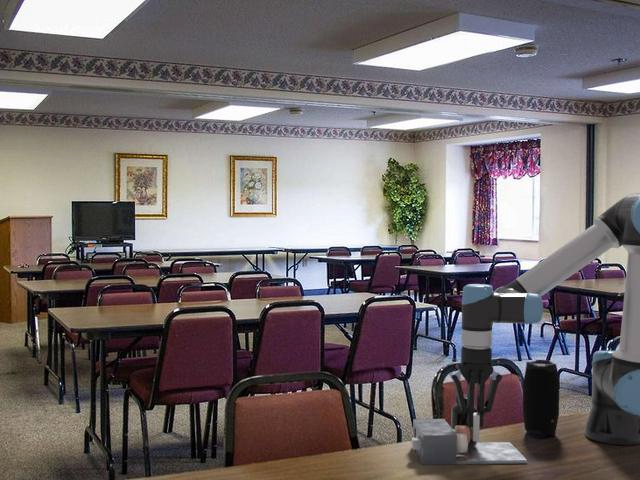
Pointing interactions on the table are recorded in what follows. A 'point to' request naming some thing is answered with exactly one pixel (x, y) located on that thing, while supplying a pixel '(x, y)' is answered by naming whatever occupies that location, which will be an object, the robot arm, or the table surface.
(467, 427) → the knob terracotta
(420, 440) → the knob cream
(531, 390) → the portable speaker
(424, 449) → the mount
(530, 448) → the table surface
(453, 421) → the supplement bottle
